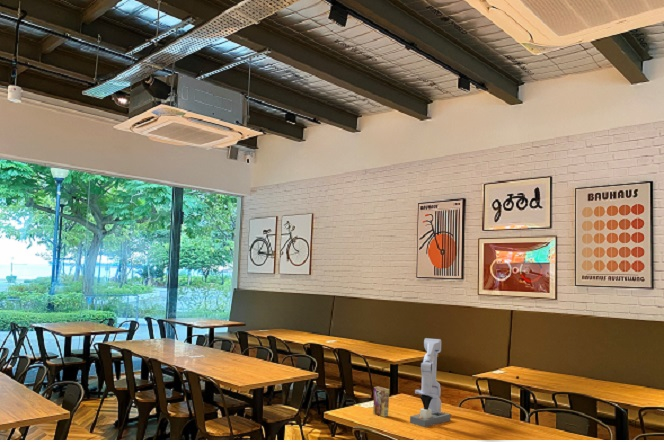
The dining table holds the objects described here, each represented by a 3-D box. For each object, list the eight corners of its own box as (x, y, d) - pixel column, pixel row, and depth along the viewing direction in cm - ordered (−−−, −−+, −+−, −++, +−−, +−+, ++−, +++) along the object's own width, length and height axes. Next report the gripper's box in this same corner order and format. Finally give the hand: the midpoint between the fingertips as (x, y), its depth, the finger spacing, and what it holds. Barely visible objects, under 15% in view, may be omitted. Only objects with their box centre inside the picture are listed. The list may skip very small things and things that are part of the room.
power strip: (436, 416, 302) (436, 409, 302) (450, 420, 294) (450, 413, 295) (410, 422, 286) (410, 415, 286) (424, 427, 278) (424, 419, 279)
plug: (425, 419, 289) (425, 407, 290) (431, 421, 286) (431, 409, 287) (419, 421, 285) (420, 409, 286) (425, 423, 283) (425, 410, 283)
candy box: (388, 416, 297) (389, 389, 299) (383, 417, 294) (384, 389, 296) (377, 412, 304) (378, 386, 305) (372, 413, 301) (373, 386, 303)
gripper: (412, 382, 291) (411, 407, 289) (433, 387, 280) (432, 413, 279) (419, 381, 295) (419, 405, 294) (440, 385, 285) (440, 411, 283)
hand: (426, 409), depth 287 cm, fingers closed, pressing on plug
